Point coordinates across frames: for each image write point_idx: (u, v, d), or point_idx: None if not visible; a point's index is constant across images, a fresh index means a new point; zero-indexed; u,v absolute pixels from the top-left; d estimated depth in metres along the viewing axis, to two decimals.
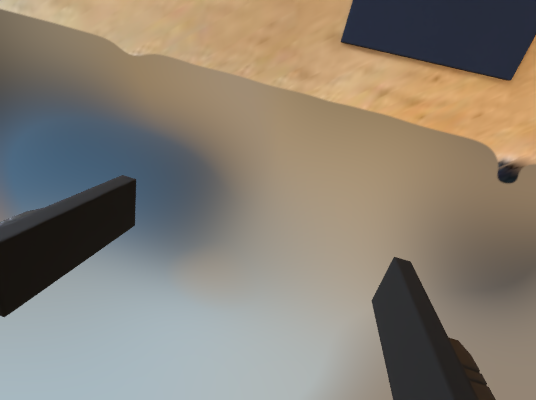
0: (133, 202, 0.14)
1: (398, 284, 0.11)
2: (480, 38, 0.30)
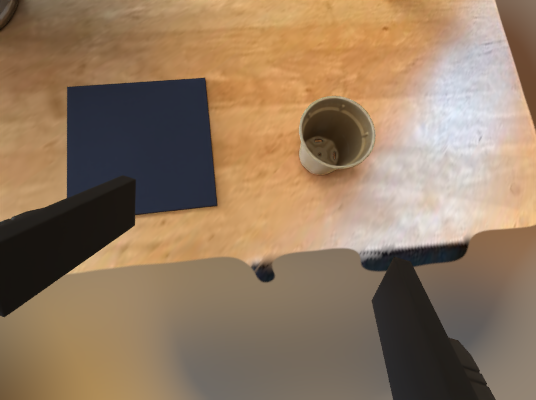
0: (133, 202, 0.14)
1: (398, 284, 0.11)
2: (177, 186, 0.38)
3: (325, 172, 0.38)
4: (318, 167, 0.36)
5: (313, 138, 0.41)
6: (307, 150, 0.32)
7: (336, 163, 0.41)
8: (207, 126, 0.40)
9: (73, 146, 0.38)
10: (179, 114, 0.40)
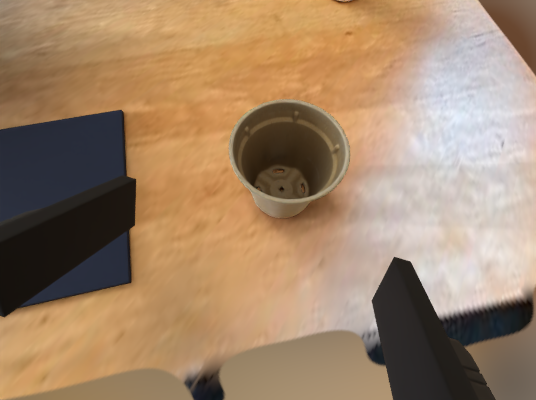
0: (133, 202, 0.14)
1: (398, 284, 0.11)
2: None
3: (289, 213, 0.26)
4: (273, 206, 0.23)
5: (271, 168, 0.30)
6: (242, 180, 0.20)
7: None
8: (121, 169, 0.29)
9: None
10: (83, 158, 0.29)
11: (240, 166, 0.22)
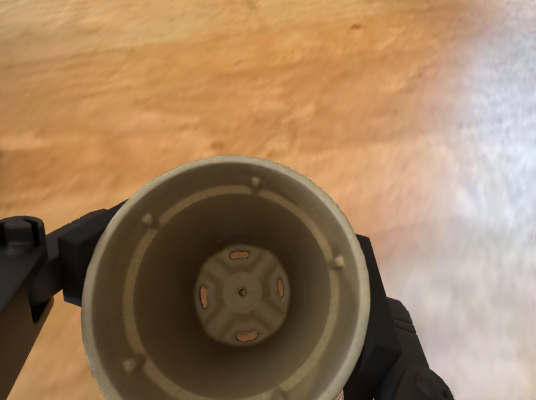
0: None
1: None
2: None
3: (248, 359, 0.14)
4: (206, 374, 0.11)
5: (227, 251, 0.18)
6: (101, 381, 0.08)
7: (286, 310, 0.16)
8: None
9: None
10: None
11: (129, 303, 0.10)
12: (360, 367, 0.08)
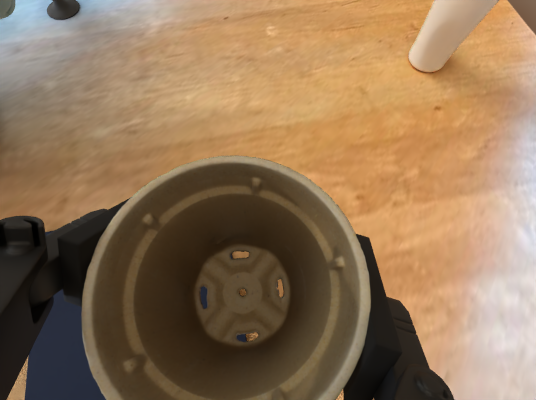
0: None
1: None
2: None
3: (248, 360, 0.14)
4: (206, 375, 0.11)
5: (227, 251, 0.18)
6: (101, 382, 0.08)
7: (286, 310, 0.16)
8: None
9: None
10: None
11: (129, 304, 0.10)
12: (360, 367, 0.08)
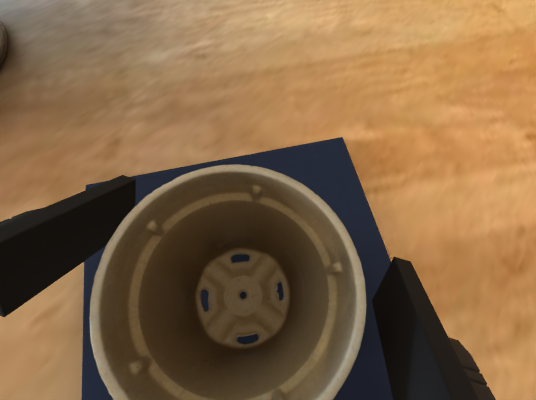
0: (133, 202, 0.14)
1: (398, 284, 0.11)
2: (350, 394, 0.15)
3: None
4: (208, 376, 0.12)
5: (228, 254, 0.18)
6: (109, 383, 0.08)
7: (286, 312, 0.17)
8: (375, 231, 0.19)
9: None
10: None
11: (134, 308, 0.11)
12: None
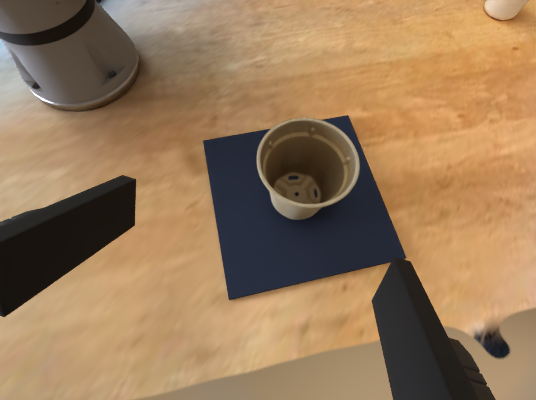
0: (133, 202, 0.14)
1: (398, 284, 0.11)
2: (353, 239, 0.31)
3: (304, 215, 0.29)
4: (292, 209, 0.27)
5: (286, 175, 0.33)
6: (269, 188, 0.24)
7: (319, 203, 0.32)
8: (366, 165, 0.35)
9: (221, 204, 0.32)
10: None
11: (265, 175, 0.26)
12: None
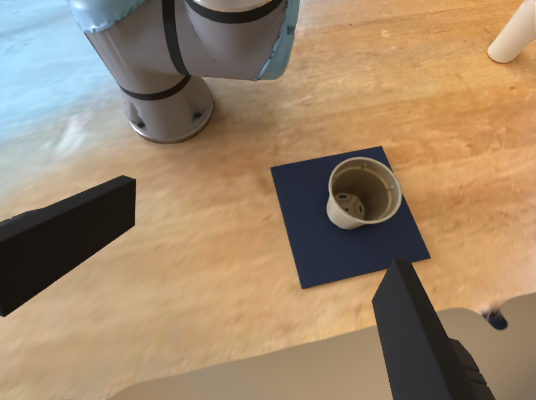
0: (133, 202, 0.14)
1: (398, 284, 0.11)
2: (390, 244, 0.41)
3: (356, 226, 0.40)
4: (350, 223, 0.37)
5: (337, 195, 0.44)
6: (340, 209, 0.34)
7: (364, 216, 0.42)
8: None
9: (289, 217, 0.43)
10: None
11: None
12: None
